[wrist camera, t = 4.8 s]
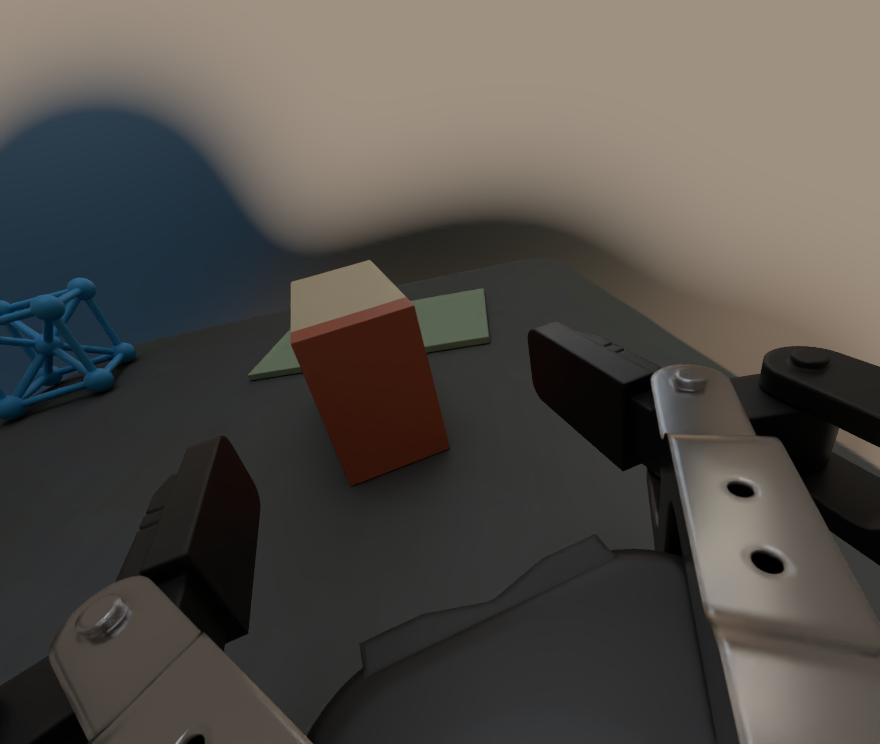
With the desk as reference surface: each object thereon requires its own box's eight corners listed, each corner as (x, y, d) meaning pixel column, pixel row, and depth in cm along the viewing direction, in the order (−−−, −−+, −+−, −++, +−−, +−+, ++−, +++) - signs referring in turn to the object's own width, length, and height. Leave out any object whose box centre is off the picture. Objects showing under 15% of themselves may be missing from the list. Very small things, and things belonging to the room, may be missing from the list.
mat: (250, 380, 36) (247, 375, 35) (299, 326, 46) (297, 321, 46) (489, 343, 33) (488, 336, 32) (484, 293, 43) (483, 287, 43)
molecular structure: (48, 383, 46) (-17, 301, 42) (142, 354, 49) (91, 273, 44) (-3, 428, 38) (-91, 331, 33) (115, 390, 40) (48, 294, 35)
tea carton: (450, 448, 22) (414, 305, 18) (350, 486, 21) (290, 343, 17) (399, 363, 33) (370, 259, 29) (331, 386, 32) (290, 282, 28)
